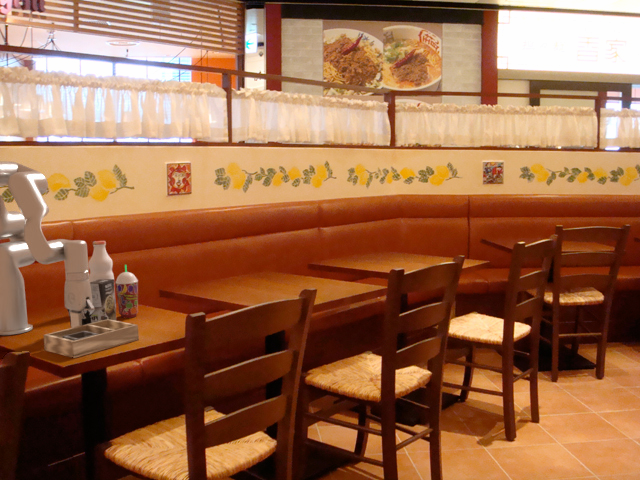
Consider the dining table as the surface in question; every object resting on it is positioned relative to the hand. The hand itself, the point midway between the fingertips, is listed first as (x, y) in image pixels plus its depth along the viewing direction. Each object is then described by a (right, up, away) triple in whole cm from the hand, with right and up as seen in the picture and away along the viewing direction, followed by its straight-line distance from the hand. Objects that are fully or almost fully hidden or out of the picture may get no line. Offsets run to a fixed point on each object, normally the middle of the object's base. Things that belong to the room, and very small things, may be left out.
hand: (81, 327), depth 228 cm
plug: (0, -2, 0) cm, 2 cm away
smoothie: (+9, +1, +26) cm, 27 cm away
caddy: (+9, -4, -13) cm, 16 cm away
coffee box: (+3, -1, +14) cm, 15 cm away
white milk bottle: (-4, +2, +37) cm, 37 cm away
